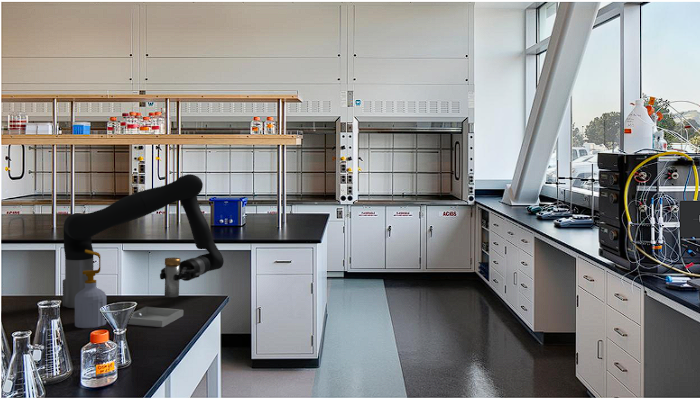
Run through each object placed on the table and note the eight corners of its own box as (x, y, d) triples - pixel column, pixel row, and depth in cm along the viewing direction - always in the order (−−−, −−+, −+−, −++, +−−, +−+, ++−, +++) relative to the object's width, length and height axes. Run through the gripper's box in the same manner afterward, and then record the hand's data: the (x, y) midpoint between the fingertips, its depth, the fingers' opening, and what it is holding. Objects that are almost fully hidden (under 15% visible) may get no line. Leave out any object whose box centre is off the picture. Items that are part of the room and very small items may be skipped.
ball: (131, 322, 185) (131, 313, 184) (136, 319, 187) (136, 310, 187) (139, 323, 184) (139, 313, 184) (144, 320, 187) (144, 311, 187)
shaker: (161, 296, 199) (162, 259, 198) (168, 293, 204) (169, 257, 203) (174, 297, 198) (175, 260, 197) (182, 294, 203) (183, 258, 202)
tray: (121, 326, 183) (121, 317, 183) (145, 315, 197) (145, 306, 197) (162, 330, 180) (162, 320, 180) (183, 318, 194) (183, 309, 194)
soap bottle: (75, 324, 184) (75, 248, 182) (106, 321, 188) (106, 247, 186) (74, 332, 176) (73, 252, 174) (106, 329, 179) (106, 251, 178)
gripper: (173, 257, 215) (149, 264, 199) (209, 260, 213) (188, 267, 196) (173, 277, 216) (149, 286, 199) (208, 280, 213) (187, 289, 196)
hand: (168, 277), depth 198 cm, fingers closed on shaker, 4 cm apart
